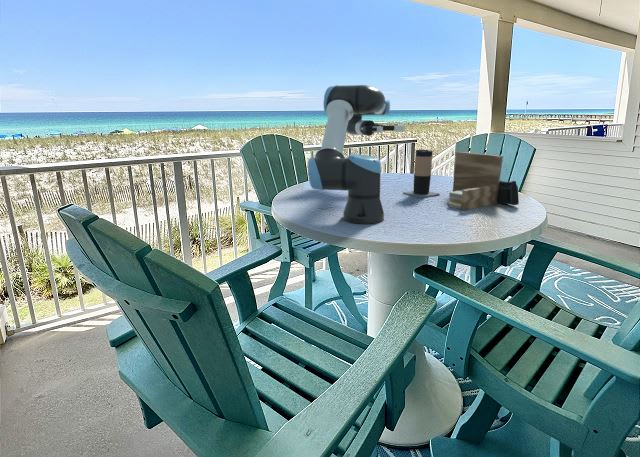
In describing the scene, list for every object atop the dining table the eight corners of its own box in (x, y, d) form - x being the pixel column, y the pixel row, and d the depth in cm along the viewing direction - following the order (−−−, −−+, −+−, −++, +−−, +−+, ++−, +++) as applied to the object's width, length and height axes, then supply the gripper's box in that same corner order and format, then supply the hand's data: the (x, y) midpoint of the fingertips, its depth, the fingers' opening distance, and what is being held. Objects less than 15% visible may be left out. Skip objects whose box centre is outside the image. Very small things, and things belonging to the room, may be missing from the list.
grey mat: (421, 198, 168) (421, 196, 168) (402, 193, 178) (403, 192, 178) (439, 195, 174) (439, 193, 174) (421, 190, 184) (421, 189, 184)
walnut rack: (463, 210, 147) (469, 159, 141) (422, 200, 165) (426, 154, 159) (496, 203, 157) (502, 156, 151) (454, 194, 175) (458, 151, 169)
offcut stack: (464, 210, 149) (465, 195, 147) (447, 206, 154) (448, 192, 153) (484, 203, 158) (486, 189, 157) (467, 200, 164) (469, 187, 162)
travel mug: (412, 194, 174) (415, 151, 168) (413, 191, 181) (416, 149, 175) (429, 195, 171) (432, 151, 165) (429, 191, 178) (432, 149, 172)
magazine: (526, 186, 146) (483, 156, 170) (519, 187, 145) (477, 156, 169) (511, 223, 155) (472, 189, 179) (504, 223, 155) (466, 189, 179)
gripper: (384, 134, 198) (412, 136, 181) (345, 136, 186) (372, 138, 169) (384, 119, 196) (413, 120, 179) (345, 120, 184) (372, 121, 167)
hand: (393, 129), depth 174 cm, fingers open, 13 cm apart
